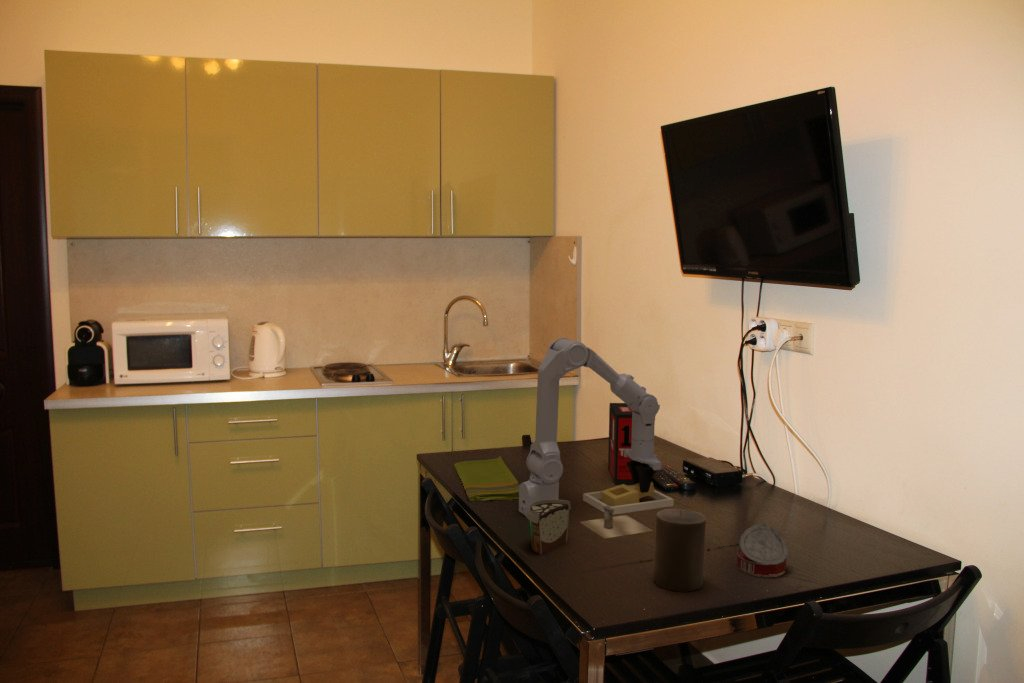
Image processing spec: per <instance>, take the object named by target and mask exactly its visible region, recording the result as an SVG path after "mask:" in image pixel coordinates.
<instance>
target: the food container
mask: <svg viewBox="0 0 1024 683" xmlns="http://www.w3.org/2000/svg"><path fill="white" fill-rule="evenodd" d="M571 505H572V504H571V501H569V500H567V499H566V500H565V499H547V500H540V501H536V502H534V503H532V504H530V506H529V508H528V511H527V515H526V516H527V517H526V516H525V517H526V518H527V519H528V521H529V526H530V527H529V528H530V543H531V549H532V550H533V552H534V553H537V554H539V555H542V554H545V553H546V552H548V551H550V550H552V549H556V547H560V546H561V545H564V544H565V543H567V542H568V534H569V532H568V530H569V520H570V510H572V506H571Z"/></svg>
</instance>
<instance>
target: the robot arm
mask: <svg viewBox="0 0 1024 683" xmlns="http://www.w3.org/2000/svg"><path fill="white" fill-rule="evenodd" d="M581 367H585V368H589V369H590V370H591V371H593V372H594V373H596V374H597V375H599V377H601V378H602V379H603V380H605V381H606V382H607V383H609V388H610V391H611V392H612V394H614V395H615V396H616V397H617V398H619V400H620V401H622V403H626V404H627V405H628V407H629V409H630V410H632V411H634V412H632V443H631V449H624V457H629V458H631V461H629V462H626V465H627V466H628V468H629V470H630V473H631V476H632V480H633V485H634V484H637V483H639V486H640V492H642V493H643V492H648V491H649V488H650V484H651V482H653V479H654V476H655V474H656V473H657V472H658V471H660V470H662V464H663V463H662V461H660V460H659V459H658V454H656V453H654V452H655V422H656V416H657V414H658V413H659V410H660V409H661V408H660V406H661V404H659V402H658V398H657V397H655V396H654V395H653V394H650V393H648V392H647V388H646V387H645V386H641V385H639V384H638V382H636V381H635V380H634V379H635V376H633V375H632V374H627V373H618V372H617V371H616V370H615V369H614V368H613V367H612V366H610V365H609V364H608V363H607V362H606V361H605V360H604V359H603V358H602V356H600V355H598V354H597V353H596V352H595V350H593V349H591V348H590V347H587V346H586V344H584V343H583V342H581V341H575V340H572V339H569V338H566V337H560V338H557V339H556V340H555V341H553V342H551V343H550V344H549V345H548V346H547V352H546V354H545V356H544V358H543V359H542V361H541V363H540V365H539V367H538V370H537V386H536V389H537V392H536V410H535V411H536V412H535V414H536V415H535V434H534V435H535V437H534V441H533V442H532V443H531V444H530V451H529V453H528V455H527V457H526V460H525V461H526V467H527V469H528V470H529V472H530V475H529V479H528V480H526V481H524V482H521V483H519V484H520V487H519V500H518V512H519V513H521V514H522V515H524V516H525V517H526V518H527V516H526V515H527V511H528V508H529V506H530V504H532V503H534V502H536V501H540V500H547V499H559V498H560V496H559V490H560V489H559V488H560V478H561V477H562V475H563V472H564V465H563V463H562V461H561V451H560V448H559V446H558V442H557V441H558V423H559V422H558V420H559V398H560V397H559V396H560V394H559V393H560V380H561V379H562V378H563V377H565V376H566V375H567V374H568V373H569V372H573V371H575V370H576V369H579V368H581ZM559 500H560V499H559Z"/></svg>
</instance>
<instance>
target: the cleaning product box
mask: <svg viewBox="0 0 1024 683" xmlns="http://www.w3.org/2000/svg"><path fill="white" fill-rule="evenodd" d="M608 410H609V411H608V412H609V413H608V415H609V417H608V418H609V420H608V458H607V465H608V466H607V470H608V472H609V474H610V476H611V478H612V481H613V484H614V486H619V485H622V484H625V485H627V486H631V485H633V480H632V476H631V473H630V470H629V468H628V466H627V465H626V462H629V461H631V458H629V457H624V449H631V443H632V412H634V411H632V410H630V409H629V407H628V405H627V404H626V403H625V402H609V409H608Z"/></svg>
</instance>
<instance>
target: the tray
mask: <svg viewBox="0 0 1024 683" xmlns="http://www.w3.org/2000/svg"><path fill="white" fill-rule="evenodd" d="M600 491H601V490H600ZM600 491H591V492H585V493H583V494H582V498H583V499H582V501H583V502H586V503H587V504H589V505H590V506H592V507H594V508H596V509H597V510H599V511H601V512H602V513H604V506H609V505H607V504H605V503H603V502H602V499H601V492H600ZM648 496H649V497H651V498H653V499H655V500H647V501H642V502H640V503H633V504H626V505H619V506H612V507H610V506H609V507H610V508H612V509H614V513H613V516H614V515H623V514H626V513H634V512H640V511H641V512H642V511H649V510H655V509H661V508H669V507H674V504H675V503H674V502H675V499H674V498H672V497H671V496H668V495H665V494H664V493H662V492H660V491H658V490H656V489H654V494H651V495H648Z"/></svg>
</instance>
